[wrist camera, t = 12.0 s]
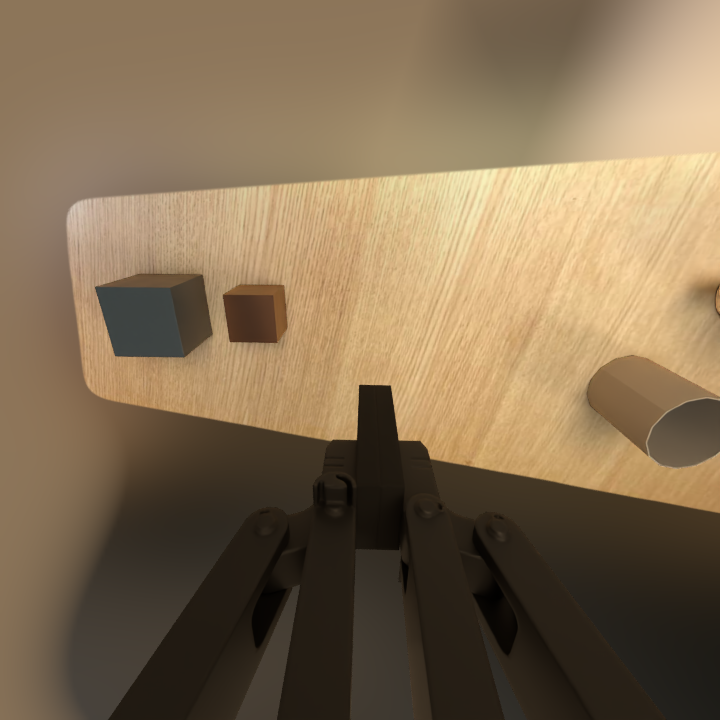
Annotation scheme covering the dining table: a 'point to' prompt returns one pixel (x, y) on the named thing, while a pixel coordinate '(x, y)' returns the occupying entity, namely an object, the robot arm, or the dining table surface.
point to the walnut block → (256, 313)
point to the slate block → (155, 314)
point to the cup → (658, 411)
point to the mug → (718, 300)
